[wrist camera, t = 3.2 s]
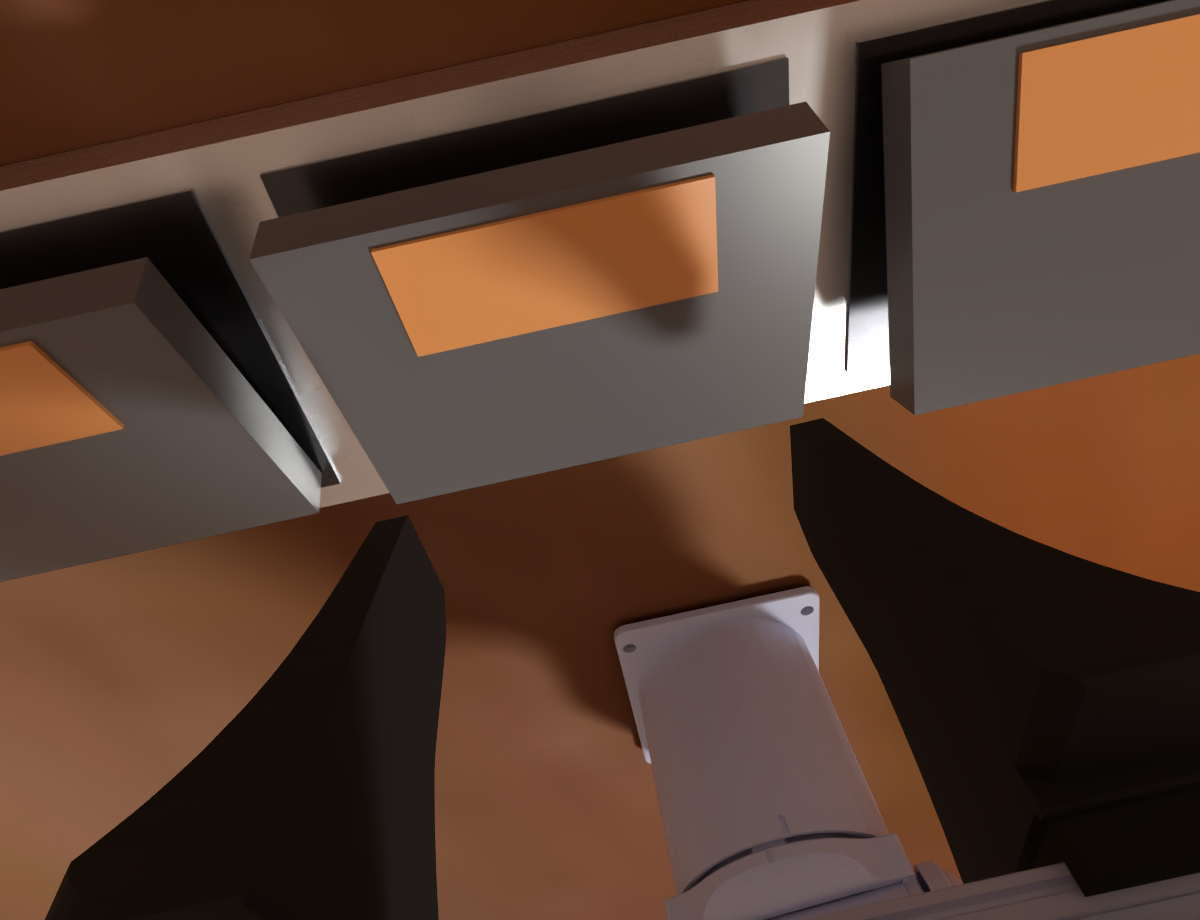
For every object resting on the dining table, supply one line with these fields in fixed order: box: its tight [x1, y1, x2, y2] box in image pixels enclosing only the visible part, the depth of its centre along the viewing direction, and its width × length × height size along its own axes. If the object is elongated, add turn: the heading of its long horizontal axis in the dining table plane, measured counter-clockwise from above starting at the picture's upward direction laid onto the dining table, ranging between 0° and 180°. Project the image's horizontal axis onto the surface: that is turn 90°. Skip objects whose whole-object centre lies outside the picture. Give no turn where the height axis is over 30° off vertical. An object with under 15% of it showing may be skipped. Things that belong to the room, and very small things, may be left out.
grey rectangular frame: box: [881, 0, 1200, 415], centre depth 15 cm, size 7×10×2 cm
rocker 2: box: [249, 102, 830, 504], centre depth 15 cm, size 7×10×2 cm
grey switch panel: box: [0, 0, 1169, 508], centre depth 18 cm, size 9×37×3 cm, turn 100°
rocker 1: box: [0, 257, 322, 582], centre depth 16 cm, size 7×10×2 cm
